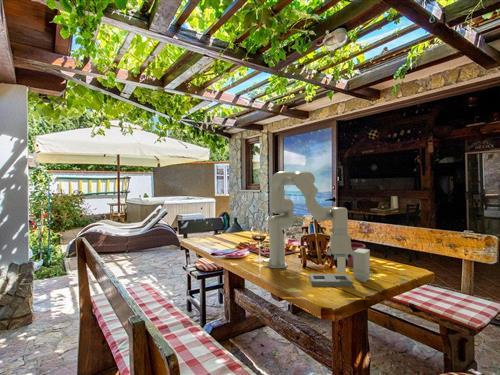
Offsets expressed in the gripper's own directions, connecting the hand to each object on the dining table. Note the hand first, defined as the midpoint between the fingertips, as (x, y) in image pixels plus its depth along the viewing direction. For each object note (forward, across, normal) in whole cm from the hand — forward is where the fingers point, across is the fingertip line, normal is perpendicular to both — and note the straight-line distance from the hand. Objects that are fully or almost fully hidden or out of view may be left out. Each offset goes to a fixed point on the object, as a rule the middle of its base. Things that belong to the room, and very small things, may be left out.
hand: (340, 266), depth 152 cm
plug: (+2, 0, 0) cm, 2 cm away
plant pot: (+9, +14, +33) cm, 37 cm away
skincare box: (+9, +12, +7) cm, 17 cm away
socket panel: (+9, -6, 0) cm, 10 cm away
